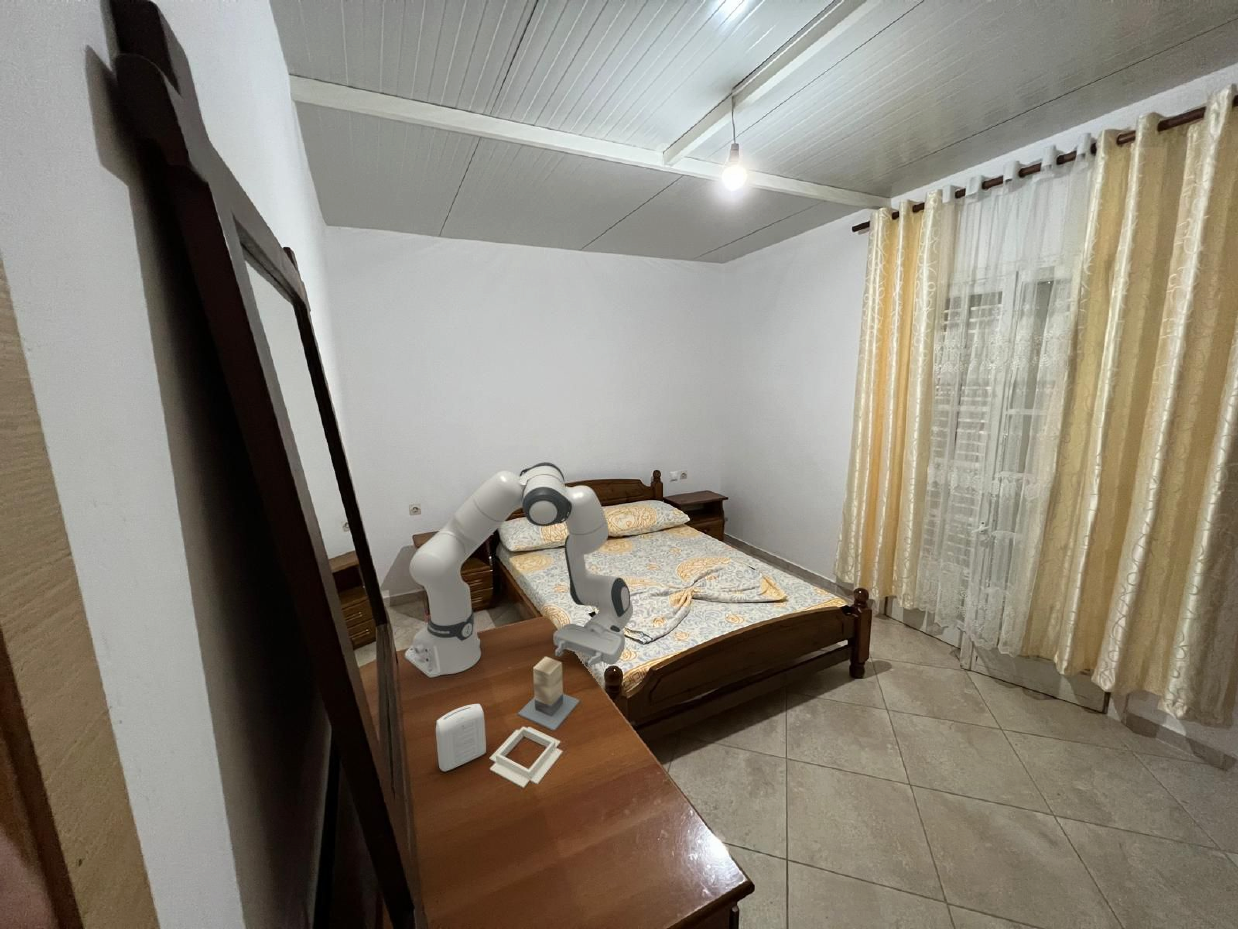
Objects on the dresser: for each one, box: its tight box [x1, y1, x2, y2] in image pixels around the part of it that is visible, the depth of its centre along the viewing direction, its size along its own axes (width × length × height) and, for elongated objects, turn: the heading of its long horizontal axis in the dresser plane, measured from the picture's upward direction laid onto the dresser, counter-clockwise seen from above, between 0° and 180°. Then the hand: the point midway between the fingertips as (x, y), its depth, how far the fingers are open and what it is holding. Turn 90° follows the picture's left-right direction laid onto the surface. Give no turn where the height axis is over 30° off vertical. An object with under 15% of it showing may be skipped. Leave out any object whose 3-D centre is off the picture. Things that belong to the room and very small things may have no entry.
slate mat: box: [517, 693, 581, 732], centre depth 119 cm, size 11×11×1 cm
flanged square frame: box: [489, 726, 564, 789], centre depth 105 cm, size 13×13×2 cm
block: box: [532, 656, 564, 717], centre depth 118 cm, size 5×5×12 cm
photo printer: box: [435, 703, 487, 772], centre depth 103 cm, size 10×4×12 cm, turn 123°
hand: (571, 659), depth 126 cm, fingers open, 8 cm apart
